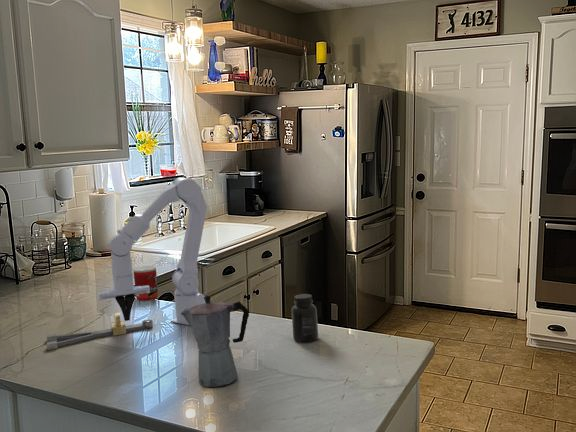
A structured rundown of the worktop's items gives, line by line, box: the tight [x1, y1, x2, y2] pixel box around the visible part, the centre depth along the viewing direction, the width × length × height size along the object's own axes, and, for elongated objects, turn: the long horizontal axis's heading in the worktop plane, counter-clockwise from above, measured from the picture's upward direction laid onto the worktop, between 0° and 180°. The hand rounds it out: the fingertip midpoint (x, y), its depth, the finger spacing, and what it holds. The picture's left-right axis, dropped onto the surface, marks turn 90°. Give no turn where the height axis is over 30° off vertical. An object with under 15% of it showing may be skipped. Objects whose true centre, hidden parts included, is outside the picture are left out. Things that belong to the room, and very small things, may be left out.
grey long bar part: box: [46, 318, 154, 351], centre depth 167 cm, size 30×9×2 cm, turn 113°
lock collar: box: [110, 312, 127, 337], centre depth 168 cm, size 4×5×5 cm, turn 23°
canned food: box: [133, 265, 159, 302], centre depth 205 cm, size 8×8×11 cm
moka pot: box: [181, 295, 250, 388], centre depth 130 cm, size 10×15×20 cm, turn 95°
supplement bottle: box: [291, 293, 319, 344], centre depth 154 cm, size 7×7×12 cm
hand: (127, 319), depth 169 cm, fingers closed
